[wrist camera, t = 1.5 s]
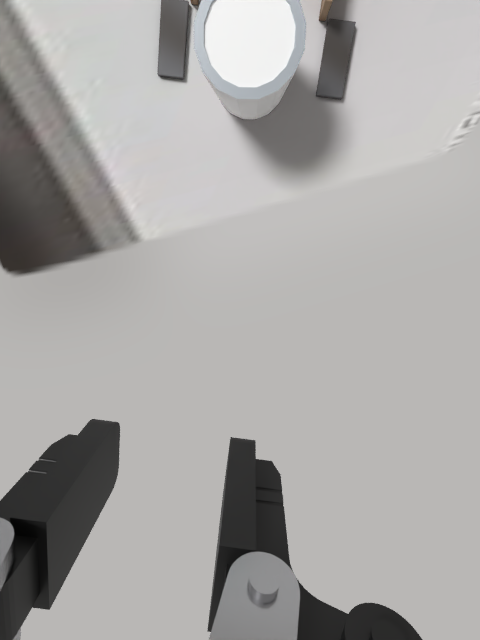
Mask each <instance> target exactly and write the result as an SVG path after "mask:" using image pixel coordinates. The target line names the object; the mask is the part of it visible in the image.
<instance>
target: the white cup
mask: <svg viewBox="0 0 480 640" xmlns="http://www.w3.org/2000/svg"><path fill="white" fill-rule="evenodd" d="M305 36H306V21H305V17H304V13H303V10H302V6H301V3H300V0H201V3H200V6H199V8H198V11H197V14H196V17H195V20H194V49H195V52H196V55H197V58H198V61H199V63H200V66H201V69H202V72H203V73H204V75H205V77H206V78H207V80H208V82H209V83H210V85H211V87H212V88H213V90H214V92H215V93H216V95H217V97H218V98H219V100H220V102H221V103H222V104H223V105H224V106H225V108H226V109H227V110H228V111H229V112H230V113H231V114H233V115H235V116H237V117H239V118H241V119H258V118H260V117H263V116H265V115H267V114H269V113H270V112H271V111H272V110H273V109H274V108H275V107H276V106H277V105H278V104H279V102H280V100H281V98H282V96H283V94H284V93H285V91H286V89H287V87H288V85H289V83H290V81H291V79H292V77H293V75H294V73H295V71H296V69H297V66H298V64H299V62H300V59H301V57H302V55H303V52H304V50H305Z"/></svg>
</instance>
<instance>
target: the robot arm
mask: <svg viewBox="0 0 480 640" xmlns="http://www.w3.org/2000/svg"><path fill="white" fill-rule="evenodd" d="M119 440H120V426H119V423H118V422H111V421H104V420H96V419H92V420H90V421H89V422H88V423H87V425H86V426H85V427H84V428H83V430H82V431H81V432H80V433H79V434H78V435H67V436H65V437H64V438H62V439H60V440H58V441H57V442H55V443H53V444H52V445H51V446H50V447H49V448H48V449H47V450H46V451H45V452H44V453H43V455H42V456H41V457H40V458H39V461H36V462H35V463H34V464H33V465H32V467H31V468H30V469H29V471H28V472H26V473H25V474H24V475H23V476H22V478H21V479H20V480H19V481H18V482H17V483H16V484H15V485H14V486H13V487H12V489H11V490H10V491H9V492H8V493H7V494H6V495H5V496H4V497H3V499H2V500H1V501H0V640H20V636H21V629H20V627H21V626H22V624H23V622H24V620H25V619H26V617H27V615H28V614H29V612H30V610H31V608H32V607H33V608H41V609H50V608H51V606H52V604H53V602H54V600H55V598H56V596H57V594H58V593H59V591H60V589H61V587H62V585H63V583H64V581H65V579H66V577H67V575H68V574H69V572H70V570H71V567H72V566H73V564H74V562H75V560H76V558H77V557H78V555H79V552H80V551H81V549H82V547H83V545H84V543H85V541H86V539H87V538H88V536H89V534H90V532H91V530H92V528H93V526H94V524H95V522H96V520H97V519H98V517H99V515H100V513H101V511H102V509H103V507H104V505H105V503H106V501H107V499H108V498H109V496H110V494H111V492H112V490H113V488H114V485H115V482H116V479H117V475H118V468H119ZM208 631H210V632H211V634H210V638H209V640H422V639H421V637H420V636H419V634H418V633H417V632H416V631H415V629H414V628H413V627H412V626H411V625H410V624H409V623H408V622H407V621H406V620H405V619H404V618H403V617H402V616H400V615H399V614H398V613H396V612H395V611H393V610H391V609H389V608H387V607H385V606H383V605H380V604H375V603H363V604H359V605H357V606H355V607H354V608H353V609H352V610H351V611H350V613H349V614H347V613H345V612H343V611H340V610H338V609H336V608H334V607H332V606H330V605H328V604H326V603H324V602H322V601H320V600H318V599H317V598H315V597H314V596H312V595H311V594H310V593H309V592H308V591H307V590H305V589H304V588H303V586H302V585H301V584H300V583H299V581H298V580H297V578H296V576H295V575H294V573H293V571H292V568H291V565H290V560H289V554H288V544H287V533H286V524H285V514H284V507H283V495H282V486H281V476H280V474H279V472H278V470H277V469H276V467H275V466H274V464H273V462H272V461H266V460H259V459H256V457H255V440H247V439H240V438H232V437H231V439H230V446H229V454H228V461H227V469H226V476H225V484H224V492H223V500H222V508H221V518H220V526H219V536H218V544H217V553H216V561H215V571H214V579H213V588H212V597H211V606H210V615H209V624H208Z"/></svg>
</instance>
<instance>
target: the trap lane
mask: <svg viewBox="0 0 480 640" xmlns="http://www.w3.org/2000/svg"><path fill="white" fill-rule="evenodd" d="M198 1H199V0H191V4H193V5H198ZM332 1H333V0H322V2H321V9H320V15H319V21H326V18H327V15H328V12H329V9H330V7H331V4H332ZM188 12H189V2H188V1H185V0H161V18H160V37H159V56H158V76H161V77H169V78H177V79H184V69H185V55H186V41H187V26H188ZM355 23H356V22H351V21H343V20H336V19H329V20H328V24H327V30H326V37H325V43H324V49H323V55H322V61H321V68H320V74H319V80H318V86H317V92H316V96H318V97H326V98H334V99H341V98H342V95H343V90H344V84H345V79H346V73H347V67H348V62H349V56H350V51H351V45H352V39H353V34H354V28H355Z"/></svg>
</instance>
